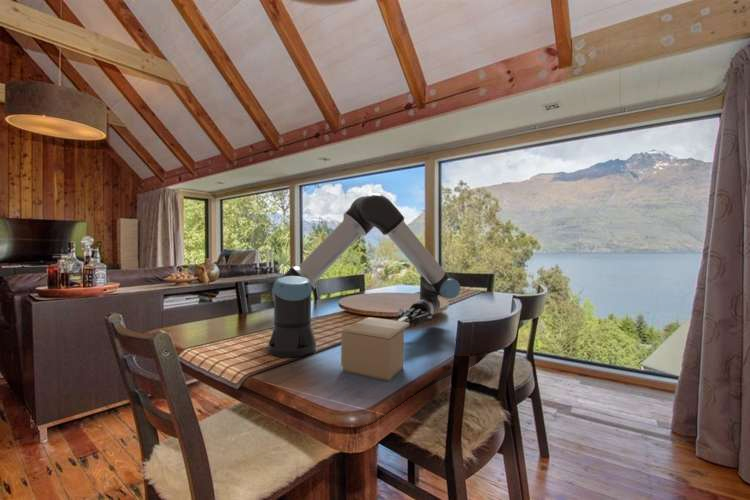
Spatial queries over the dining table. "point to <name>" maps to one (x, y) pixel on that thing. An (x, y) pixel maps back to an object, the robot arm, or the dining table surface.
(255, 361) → the dining table surface
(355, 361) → the carton
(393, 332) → the flap
